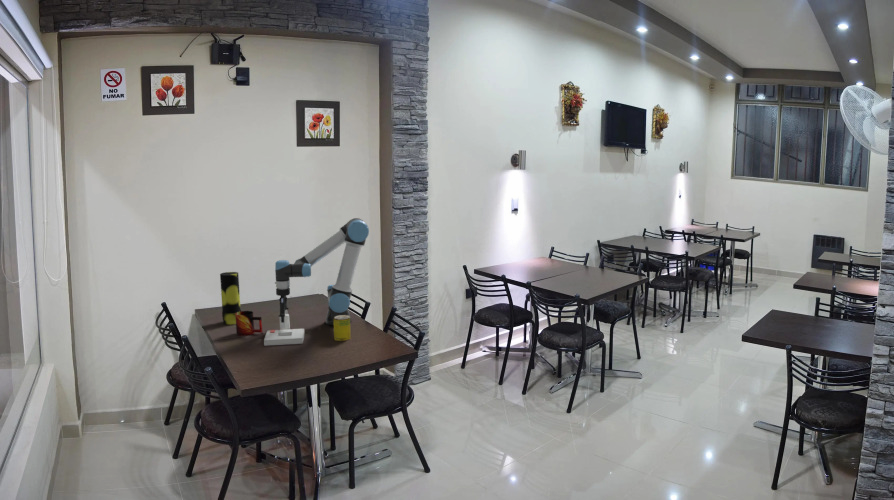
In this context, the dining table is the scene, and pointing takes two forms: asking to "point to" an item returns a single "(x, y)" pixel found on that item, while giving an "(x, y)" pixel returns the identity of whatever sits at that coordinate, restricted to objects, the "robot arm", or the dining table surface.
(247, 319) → the mug
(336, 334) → the yellow can
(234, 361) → the dining table surface
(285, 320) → the plug
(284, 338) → the socket
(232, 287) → the container
